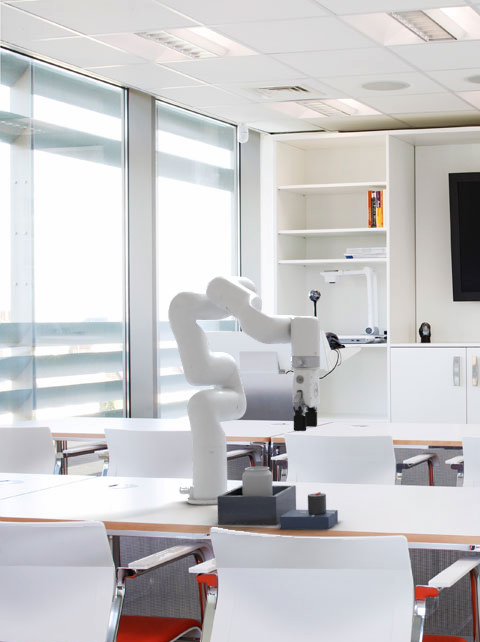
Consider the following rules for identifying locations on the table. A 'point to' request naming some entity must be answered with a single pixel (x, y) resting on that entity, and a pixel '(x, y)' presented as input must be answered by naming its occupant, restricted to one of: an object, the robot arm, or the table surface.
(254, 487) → the can
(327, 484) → the table surface
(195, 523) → the table surface
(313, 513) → the tap knob
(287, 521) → the panel
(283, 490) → the open storage bin
